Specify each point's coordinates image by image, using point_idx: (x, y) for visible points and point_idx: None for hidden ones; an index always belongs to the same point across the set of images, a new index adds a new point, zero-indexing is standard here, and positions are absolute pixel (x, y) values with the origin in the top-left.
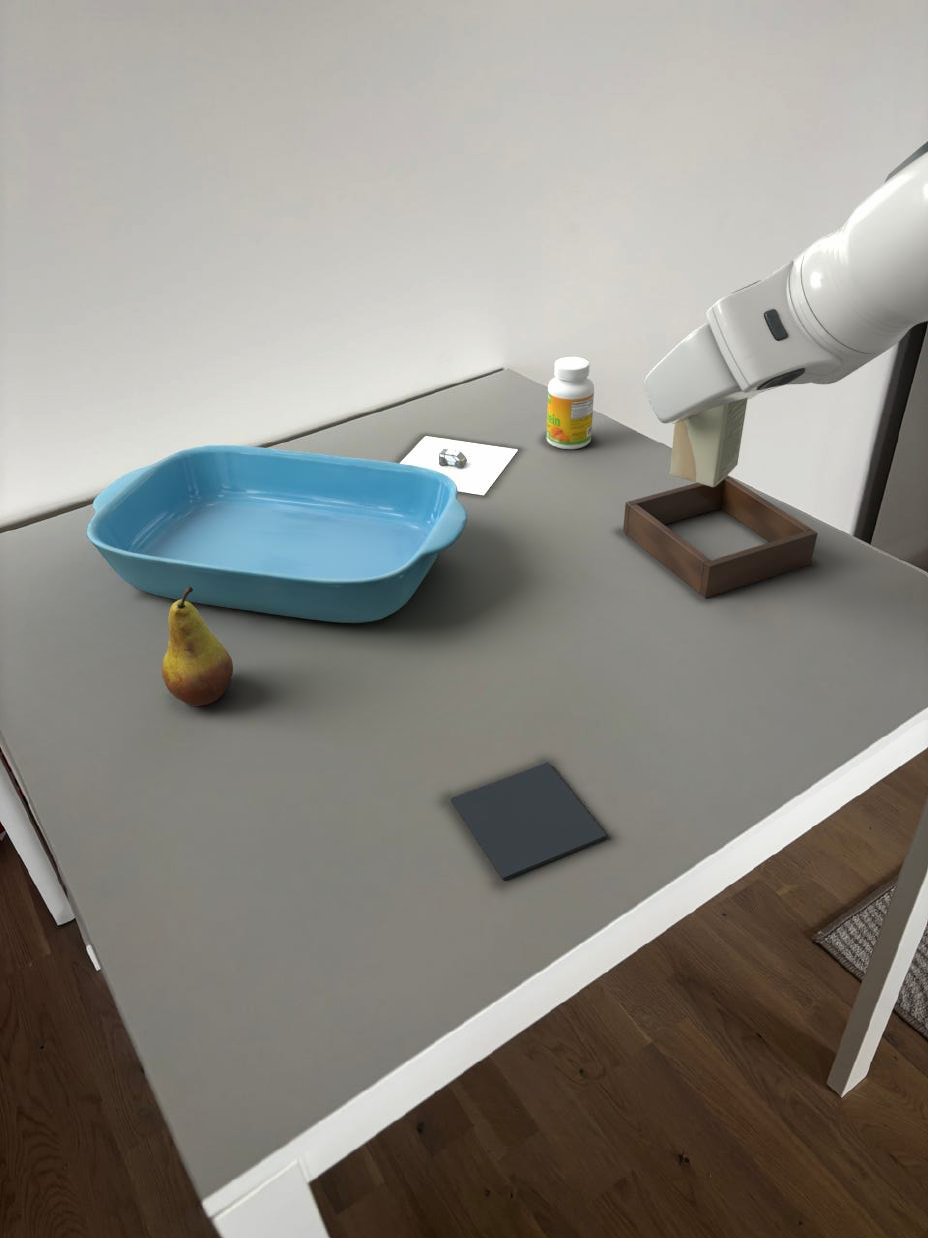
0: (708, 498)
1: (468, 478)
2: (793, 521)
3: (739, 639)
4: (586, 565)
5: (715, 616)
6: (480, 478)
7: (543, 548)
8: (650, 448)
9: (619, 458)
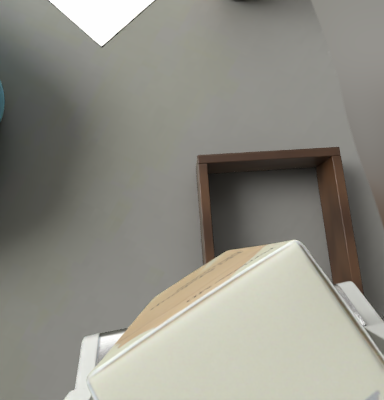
0: (303, 163)
1: (103, 10)
2: (353, 273)
3: None
4: (129, 207)
5: None
6: (114, 15)
7: (106, 161)
8: (311, 29)
9: (270, 34)
